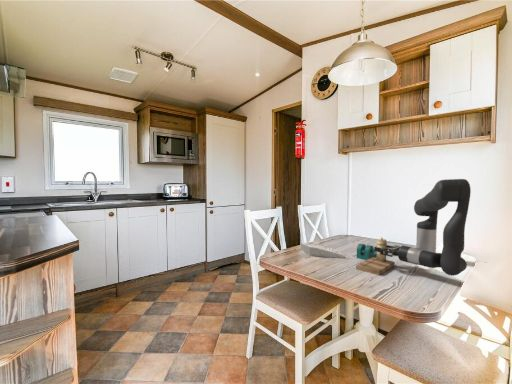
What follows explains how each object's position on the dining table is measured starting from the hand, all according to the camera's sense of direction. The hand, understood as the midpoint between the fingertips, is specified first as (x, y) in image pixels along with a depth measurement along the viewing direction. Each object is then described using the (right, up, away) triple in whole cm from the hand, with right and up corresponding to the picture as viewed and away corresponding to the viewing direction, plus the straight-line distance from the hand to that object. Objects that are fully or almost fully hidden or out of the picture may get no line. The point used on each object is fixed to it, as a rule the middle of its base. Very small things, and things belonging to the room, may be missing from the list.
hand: (379, 247), depth 133 cm
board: (-4, -9, -5) cm, 11 cm away
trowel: (-26, -8, +18) cm, 33 cm away
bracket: (+1, -8, +14) cm, 16 cm away
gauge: (+1, -7, -1) cm, 7 cm away
